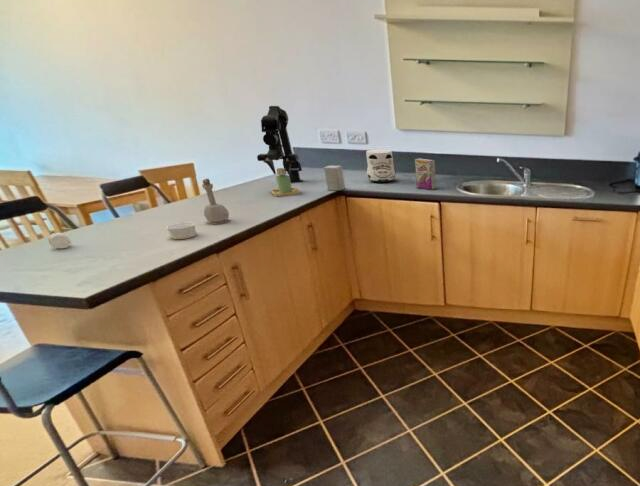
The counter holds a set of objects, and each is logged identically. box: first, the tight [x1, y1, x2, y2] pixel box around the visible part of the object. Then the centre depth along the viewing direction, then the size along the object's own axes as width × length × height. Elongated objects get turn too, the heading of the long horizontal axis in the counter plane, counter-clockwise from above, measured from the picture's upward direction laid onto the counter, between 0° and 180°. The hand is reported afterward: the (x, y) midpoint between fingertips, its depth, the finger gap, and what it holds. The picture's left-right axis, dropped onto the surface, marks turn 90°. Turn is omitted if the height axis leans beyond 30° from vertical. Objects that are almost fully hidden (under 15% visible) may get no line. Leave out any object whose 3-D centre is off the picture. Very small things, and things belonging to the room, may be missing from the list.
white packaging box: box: [323, 165, 346, 191], centre depth 236 cm, size 7×7×13 cm
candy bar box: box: [414, 157, 437, 191], centre depth 244 cm, size 11×5×16 cm, turn 65°
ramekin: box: [166, 222, 197, 240], centre depth 160 cm, size 9×9×4 cm
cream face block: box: [365, 149, 397, 183], centre depth 258 cm, size 17×17×18 cm
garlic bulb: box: [47, 232, 72, 249], centre depth 147 cm, size 6×6×5 cm
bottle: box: [275, 174, 293, 193], centre depth 225 cm, size 6×6×12 cm
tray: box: [270, 186, 302, 198], centre depth 227 cm, size 12×12×1 cm
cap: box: [276, 167, 287, 176], centre depth 222 cm, size 4×4×3 cm
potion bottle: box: [201, 178, 230, 225], centre depth 175 cm, size 9×9×18 cm
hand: (281, 174), depth 222 cm, fingers open, 6 cm apart
